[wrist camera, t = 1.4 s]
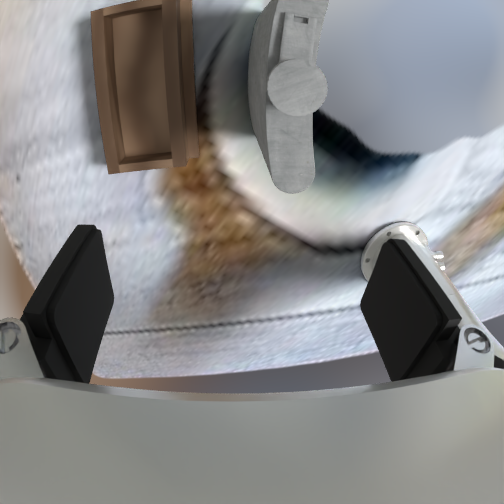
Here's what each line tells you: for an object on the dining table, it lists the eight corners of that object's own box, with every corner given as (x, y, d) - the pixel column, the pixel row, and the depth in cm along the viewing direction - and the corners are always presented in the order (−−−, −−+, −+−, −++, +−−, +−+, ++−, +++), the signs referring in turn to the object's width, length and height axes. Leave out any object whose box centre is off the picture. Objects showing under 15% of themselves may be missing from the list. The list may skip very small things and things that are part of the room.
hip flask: (277, 136, 37) (321, 209, 21) (244, 136, 37) (261, 209, 21) (283, 13, 28) (342, -28, 12) (248, 11, 28) (272, -38, 12)
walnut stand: (192, -1, 27) (188, -8, 23) (199, 155, 38) (196, 165, 35) (94, 17, 26) (80, 14, 23) (109, 164, 37) (99, 175, 34)
